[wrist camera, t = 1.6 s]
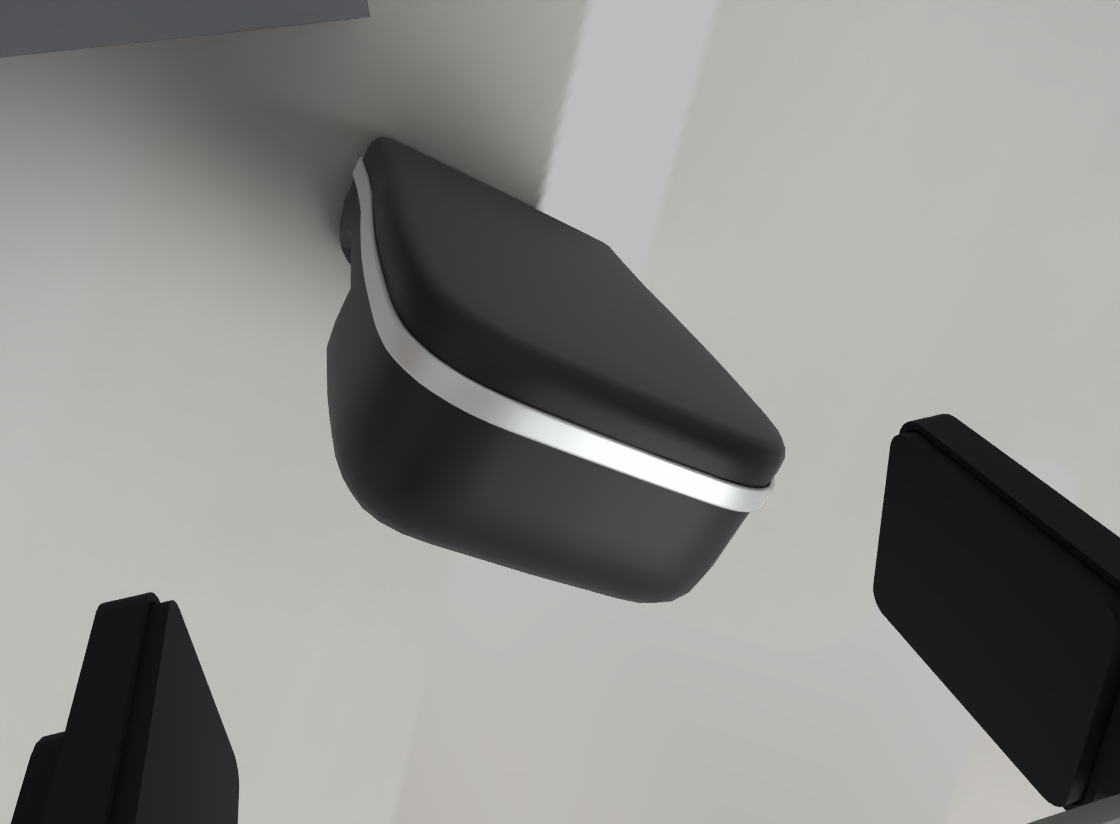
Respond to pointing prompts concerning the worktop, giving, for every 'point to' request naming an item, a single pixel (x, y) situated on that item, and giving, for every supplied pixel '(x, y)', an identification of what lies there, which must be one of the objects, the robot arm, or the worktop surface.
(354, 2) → the dock
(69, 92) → the worktop surface
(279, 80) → the worktop surface
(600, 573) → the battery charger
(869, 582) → the worktop surface
